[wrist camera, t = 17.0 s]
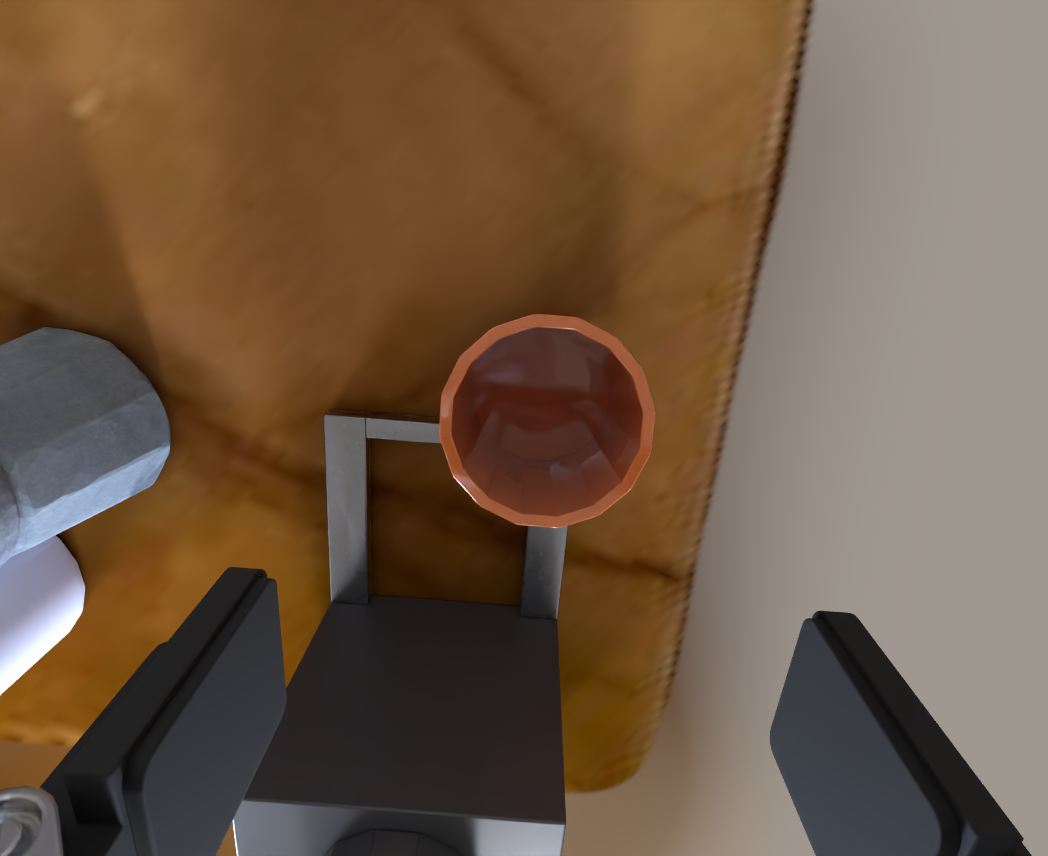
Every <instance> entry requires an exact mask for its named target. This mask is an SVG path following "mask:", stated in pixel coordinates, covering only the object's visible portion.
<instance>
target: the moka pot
mask: <svg viewBox="0 0 1048 856" xmlns="http://www.w3.org/2000/svg"><path fill="white" fill-rule="evenodd" d="M169 452H170V426H169V421H168V417H167V415H166V412H165V409H164V406H163V404H162V402H161V400H160V398H159V396H158V394H157V393H156V391H155V389H154V388H153V386H152V384H151V382H150V381H149V380H148V378H147V377H146V375H145V374H144V373H143V372H141V371H140V370H139V369H138V368H137V367H136V366H135V365H134V364H133V362H132V361H131V360H130V359H129V358H128V357H127V356H125V355H124V354H123V353H122V352H121V351H119V350H118V349H117V348H116V346H115V345H114V344H112V343H110V342H109V341H106V340H103V339H101V338H98V337H95V336H93V335H88V334H85V333H82V332H78V331H73V330H69V329H59V328H51V327H43V328H40V329H38V330H35V331H33V332H30V333H28V334H26V335H24V336H21V337H19V338H17V339H14V340H12V341H10V342H7V343H5V344H3V345H0V566H1V565H2V564H3V563H4V562H6V561H7V560H8V559H9V557H11V556H14V555H16V554H18V553H20V552H23V551H25V550H27V549H29V548H32V547H34V546H35V545H37V544H39V543H41V542H43V541H45V540H47V539H49V538H51V537H53V536H55V535H57V534H59V533H61V532H62V531H64V530H66V529H68V528H70V527H72V526H74V525H76V524H78V523H80V522H82V521H84V520H86V519H88V518H90V517H92V516H94V515H96V514H98V513H100V512H102V511H104V510H106V509H107V508H109V507H111V506H113V505H115V504H117V503H119V502H121V501H123V500H125V499H127V498H129V497H131V496H133V495H135V494H137V493H139V492H141V491H143V490H144V489H146V488H148V487H150V486H152V485H153V484H154V482H155V481H156V479H157V478H158V476H159V474H160V472H161V470H162V468H163V466H164V463H165V461H166V459H167V457H168V455H169Z"/></svg>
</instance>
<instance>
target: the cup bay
mask: <svg viewBox="0 0 1048 856" xmlns="http://www.w3.org/2000/svg"><path fill="white" fill-rule="evenodd" d="M439 424H440V417H432V416H420V415H407V414H395V413H382V412H371V413H370V412H366V411H354V410H341V409H329V410H328V411H327V412H326V413H325V414H324V440H325V465H326V490H327V515H328V540H329V565H330V590H331V601H332V602H341V603H354V604H366V605H367V604H368V603H369V601H370V599H371V596H372V594H373V582H372V494H371V438H378V439H390V440H403V441H415V442H428V443H440V444H441V441H440V438H439ZM567 532H568V525H567V526H564V527H561V528H559V527H558V528H550V527H538V526H527V536H526V547H525V558H524V569H523V580H522V591H521V602H520V616H521V617H532V618H545V619H557V618H558V609H559V600H560V592H561V583H562V575H563V566H564V558H565V549H566V540H567Z"/></svg>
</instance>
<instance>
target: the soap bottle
mask: <svg viewBox="0 0 1048 856" xmlns="http://www.w3.org/2000/svg"><path fill="white" fill-rule="evenodd" d="M84 594H85V585H84V582H83V579H82V576H81V572H80V569H79V566H78V563H77V561H76V560H75V559H74V557H73V556H72V555H71V553H70V552H69V551H68V549H67V548H66V546H65V545H64V544H63V542H62V541H61V540H60V539H59V538H58V537H57V536H56V535H55V536H53V537H51V538H49V539H47V540H45V541H43V542H41V543H39V544H37V545H35V546H34V547H32V548H29V549H27V550H25V551H23V552H20V553H18V554H16V555H14V556H11V557H9V559H8V560H7V561H6V562H4V563H3V564H2V565H1V566H0V695H1V694H2V693H3V692H4V691H5V690H6V689H7V688H8V687H9V686H10V685H12V684H13V683H14V682H15V681H16V680H17V679H18V678H19V677H20V676H21V675H23V674H24V673H25V672H26V671H27V670H28V669H29V668H30V667H31V666H32V665H34V664H35V663H36V662H37V661H38V660H39V659H40V658H41V657H42V656H43V655H45V654H46V653H47V652H48V651H49V650H50V649H51V648H52V647H53V646H54V645H56V644H57V643H58V642H59V641H60V640H61V639H62V638H63V637H64V636H65V635H66V634H68V633H69V632H70V630H71V629H72V627H73V626H74V624H75V623H76V621H77V619H78V618H79V616H80V615H81V613H82V611H83V604H84Z"/></svg>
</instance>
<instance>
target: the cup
mask: <svg viewBox="0 0 1048 856" xmlns="http://www.w3.org/2000/svg"><path fill="white" fill-rule="evenodd" d="M655 411H656V409H655V406H654V402H653V399H652V396H651V392H650V389H649V385H648V382H647V378H646V375H645V372H644V371H643V368H642V367H641V366H640V365H639V363H638V362H637V361H636V360H635V359H634V357H633V356H632V355H631V354H630V353H629V351H628V350H627V349H626V348H625V346H624V345H623V344H622V343H621V342H620V340H619V339H618V338H616V336H614V335H612V334H610V333H608V332H606V331H604V330H602V329H600V328H598V327H597V326H595V325H593V324H591V323H589V322H587V321H585V320H583V319H581V318H578V317H573V316H561V315H548V314H531V315H528V316H525V317H522V318H519V319H516V320H513V321H510V322H507V323H504V324H501V325H498V326H495V327H493V328H491V329H490V330H489V331H488V332H487V333H485V334H484V335H483V336H482V337H481V338H480V339H479V340H477V341H476V342H475V343H474V344H473V345H472V346H471V347H469V348H468V349H467V350H466V351H465V352H464V353H463V354H461V356H460V357H459V359H458V361H457V363H456V365H455V367H454V369H453V371H452V373H451V375H450V377H449V379H448V381H447V383H446V385H445V387H444V389H443V392H442V395H441V407H440V424H439V438H440V441H441V444H442V447H443V450H444V453H445V455H446V458H447V461H448V464H449V467H450V470H451V472H452V475H453V476H454V478H455V479H456V480H457V481H458V482H459V483H460V484H461V486H462V487H463V488H464V489H465V490H466V491H467V492H468V493H469V495H470V496H471V497H472V498H473V499H474V500H475V501H476V502H477V504H478V505H479V506H481V507H482V508H484V509H486V510H488V511H490V512H492V513H494V514H496V515H498V516H500V517H502V518H504V519H506V520H508V521H510V522H513V523H515V524H518V525H525V526H538V527H550V528H558V527H559V528H561V527H564V526H567V525H571V524H574V523H577V522H580V521H584V520H587V519H590V518H593V517H597V516H598V515H600V514H601V513H603V512H604V511H605V510H606V509H608V508H609V507H610V506H611V505H613V504H614V503H615V502H616V501H618V500H619V499H620V498H621V497H623V496H624V495H625V494H626V493H628V492H629V491H630V489H632V487H633V485H634V483H635V481H636V480H637V478H638V476H639V474H640V472H641V471H642V469H643V467H644V465H645V463H646V462H647V460H648V458H649V456H650V454H651V451H652V442H653V434H654V425H655V416H656V412H655Z"/></svg>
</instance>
